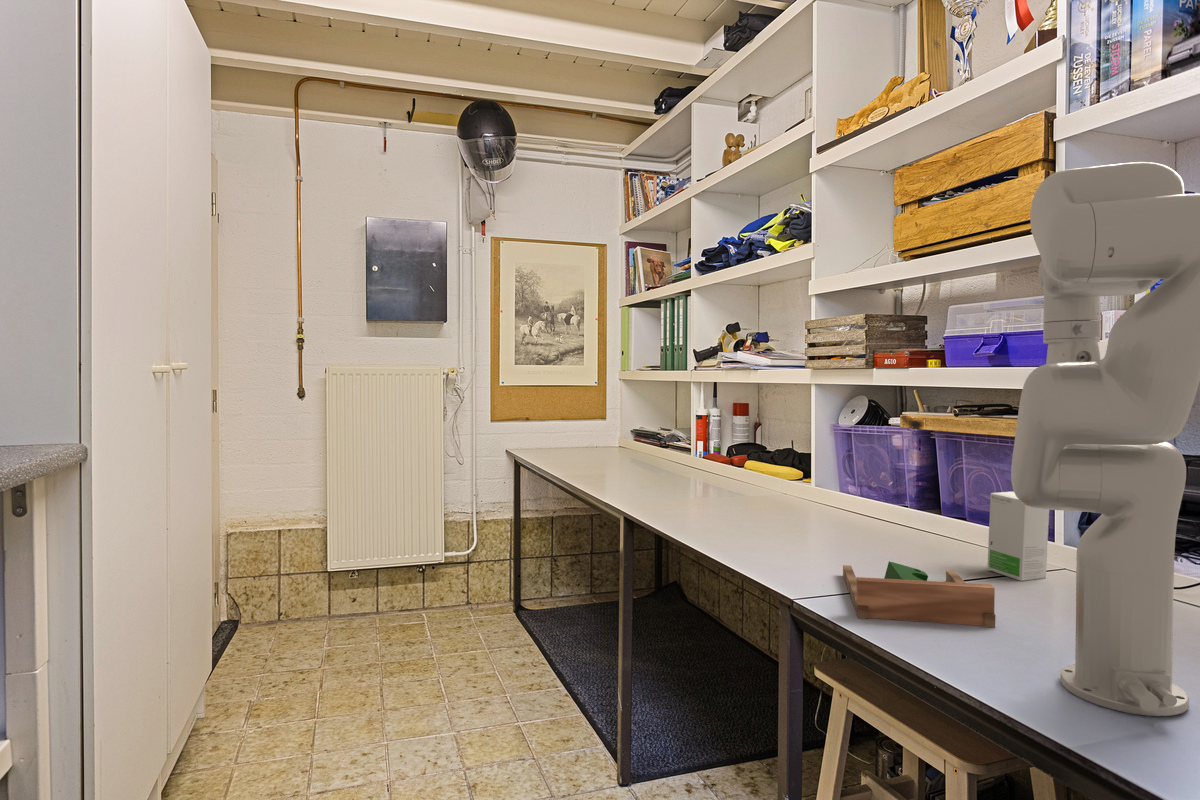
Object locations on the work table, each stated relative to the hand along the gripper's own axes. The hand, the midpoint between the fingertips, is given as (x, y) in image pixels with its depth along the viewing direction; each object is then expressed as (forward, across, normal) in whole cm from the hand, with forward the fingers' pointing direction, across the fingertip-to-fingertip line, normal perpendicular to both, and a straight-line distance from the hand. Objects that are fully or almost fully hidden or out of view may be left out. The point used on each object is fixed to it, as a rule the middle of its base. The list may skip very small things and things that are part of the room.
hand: (1069, 448), depth 113 cm
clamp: (+27, +1, +24) cm, 36 cm away
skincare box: (+27, +24, 0) cm, 36 cm away
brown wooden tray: (+27, +4, +23) cm, 36 cm away
